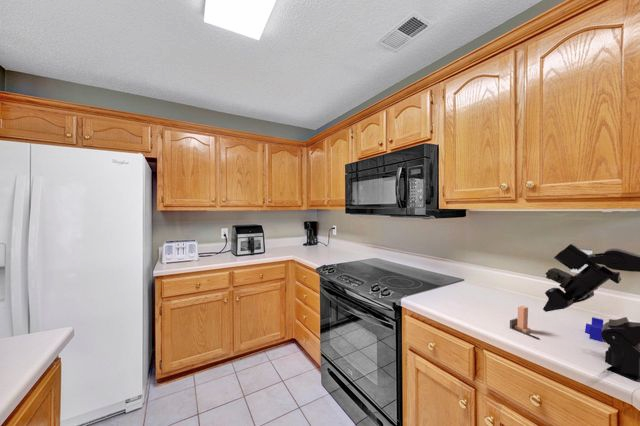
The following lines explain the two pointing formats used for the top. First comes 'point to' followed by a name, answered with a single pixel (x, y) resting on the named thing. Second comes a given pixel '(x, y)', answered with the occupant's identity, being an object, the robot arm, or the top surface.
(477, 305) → the top surface
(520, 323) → the block
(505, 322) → the top surface
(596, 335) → the cable clip
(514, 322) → the grey block holder
